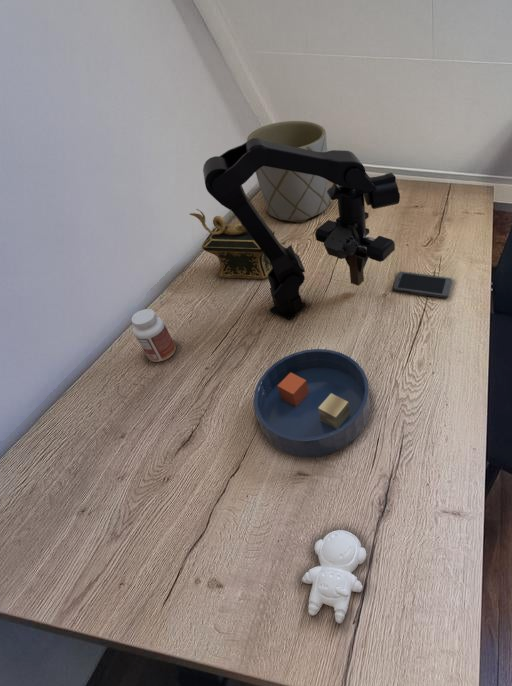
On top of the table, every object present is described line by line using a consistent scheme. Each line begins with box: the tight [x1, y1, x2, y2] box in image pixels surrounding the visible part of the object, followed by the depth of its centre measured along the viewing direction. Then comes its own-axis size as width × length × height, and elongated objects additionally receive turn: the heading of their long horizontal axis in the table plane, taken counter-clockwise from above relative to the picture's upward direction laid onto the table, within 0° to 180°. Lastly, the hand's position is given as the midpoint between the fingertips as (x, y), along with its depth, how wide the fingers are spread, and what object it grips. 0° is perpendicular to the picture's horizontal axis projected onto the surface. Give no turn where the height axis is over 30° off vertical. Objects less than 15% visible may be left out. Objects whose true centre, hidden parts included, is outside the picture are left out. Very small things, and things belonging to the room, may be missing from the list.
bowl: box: [253, 348, 371, 459], centre depth 86 cm, size 21×21×6 cm
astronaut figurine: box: [301, 529, 367, 624], centre depth 65 cm, size 9×12×3 cm
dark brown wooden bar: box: [348, 246, 365, 287], centre depth 108 cm, size 2×2×11 cm
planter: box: [246, 120, 330, 224], centre depth 139 cm, size 23×23×24 cm
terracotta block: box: [278, 372, 309, 406], centre depth 89 cm, size 4×4×4 cm
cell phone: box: [392, 271, 453, 299], centre depth 114 cm, size 7×14×1 cm, turn 74°
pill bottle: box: [131, 308, 176, 363], centre depth 98 cm, size 6×6×11 cm
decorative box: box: [188, 208, 275, 280], centre depth 117 cm, size 20×10×20 cm, turn 83°
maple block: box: [318, 393, 350, 429], centre depth 84 cm, size 4×4×4 cm
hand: (356, 269), depth 110 cm, fingers closed on dark brown wooden bar, 2 cm apart
